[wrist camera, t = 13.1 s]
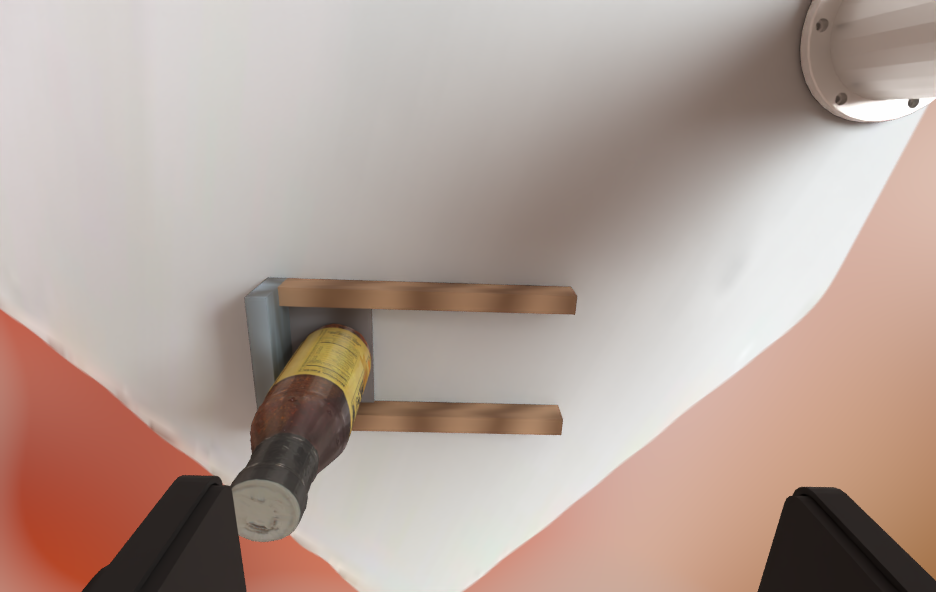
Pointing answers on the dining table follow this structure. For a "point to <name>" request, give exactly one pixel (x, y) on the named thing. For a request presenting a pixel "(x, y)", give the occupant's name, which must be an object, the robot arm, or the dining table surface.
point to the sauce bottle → (300, 430)
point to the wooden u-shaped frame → (350, 303)
